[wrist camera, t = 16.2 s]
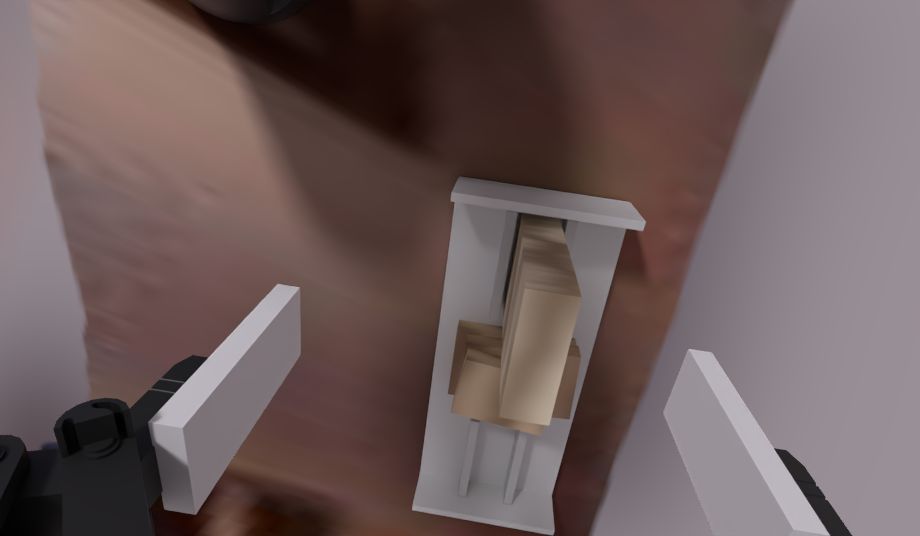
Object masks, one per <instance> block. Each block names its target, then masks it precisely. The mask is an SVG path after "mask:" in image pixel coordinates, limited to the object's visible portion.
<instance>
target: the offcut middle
mask: <svg viewBox="0 0 920 536" xmlns="http://www.w3.org/2000/svg"><path fill="white" fill-rule="evenodd" d="M468 348H470V349H474V350H478V351H482V352H486V353H490V354H493V355H497V356H501V354H502V338H496V337H487V336H477V335H467V338H466V344H465V356H464V360H465V357H466V353H467V350H468ZM580 361H581V355H580V350H579V346H574V345H570V347H569V350H568V354H567V358H566V362H565V366H564V370H563V374H562V378H561V382H560V386H559V389H558V393H557V397H556V401H555V405H554V409H553V413H552V418H561V419H569V420H570V415H571V409H572V404H573V398H574V393H575V388H576V382H577V377H578V371H579V366H580Z"/></svg>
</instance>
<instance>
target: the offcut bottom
mask: <svg viewBox="0 0 920 536" xmlns="http://www.w3.org/2000/svg"><path fill="white" fill-rule="evenodd" d="M502 331H503V327H501V326H495V325H489V324H483V323H477V322H471V321H465V320H459V323H458V328H457V334H456V341H455V348H454V354H453V361H452V368H451V375H450V382H449V389H448V394H450V395H455V391H456V388H457V385H458V381H459V378H460V374H461V371H462V367H463V364H464V356H465V344H466V338H467V335H477V336H487V337H496V338H502ZM570 345H574V346H577V345H576V340H575V338H572V339H571V343H570Z"/></svg>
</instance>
